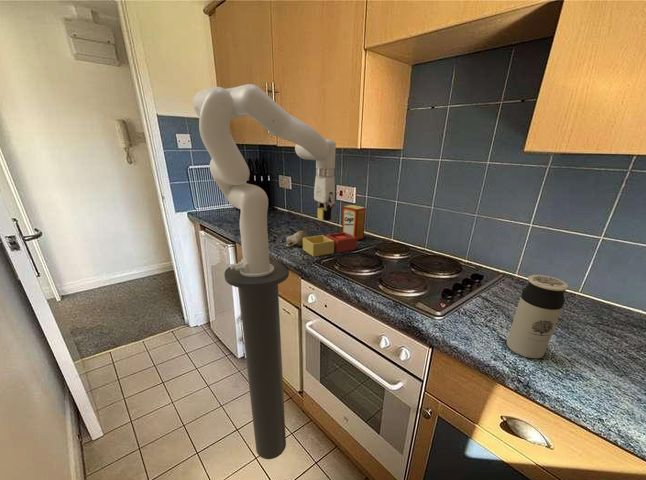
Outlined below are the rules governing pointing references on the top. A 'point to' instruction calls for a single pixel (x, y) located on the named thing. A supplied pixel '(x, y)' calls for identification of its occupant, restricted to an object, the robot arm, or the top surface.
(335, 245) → the red bin
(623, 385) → the top surface
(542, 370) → the top surface
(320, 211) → the yellow block
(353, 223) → the baking soda box
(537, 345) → the travel mug
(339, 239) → the red block
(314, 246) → the yellow bin
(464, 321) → the top surface
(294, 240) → the beige animal figurine
